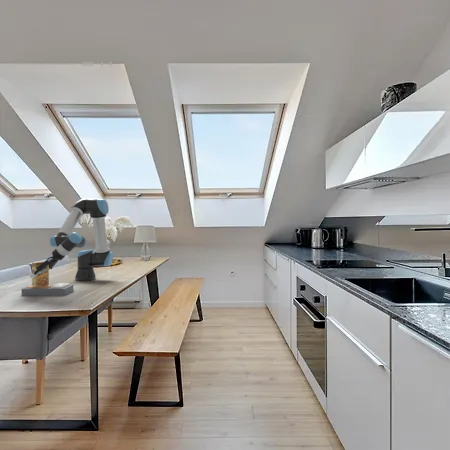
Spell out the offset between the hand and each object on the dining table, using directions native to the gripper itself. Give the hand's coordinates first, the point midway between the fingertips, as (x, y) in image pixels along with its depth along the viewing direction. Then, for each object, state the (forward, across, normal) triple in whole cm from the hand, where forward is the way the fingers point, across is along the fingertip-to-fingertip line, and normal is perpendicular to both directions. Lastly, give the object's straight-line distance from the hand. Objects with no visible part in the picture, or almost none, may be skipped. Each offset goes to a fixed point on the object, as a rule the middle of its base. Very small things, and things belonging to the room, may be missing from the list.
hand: (36, 276), depth 221 cm
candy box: (+3, 0, -6) cm, 7 cm away
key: (+4, 0, -8) cm, 9 cm away
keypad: (+2, 0, -13) cm, 13 cm away
